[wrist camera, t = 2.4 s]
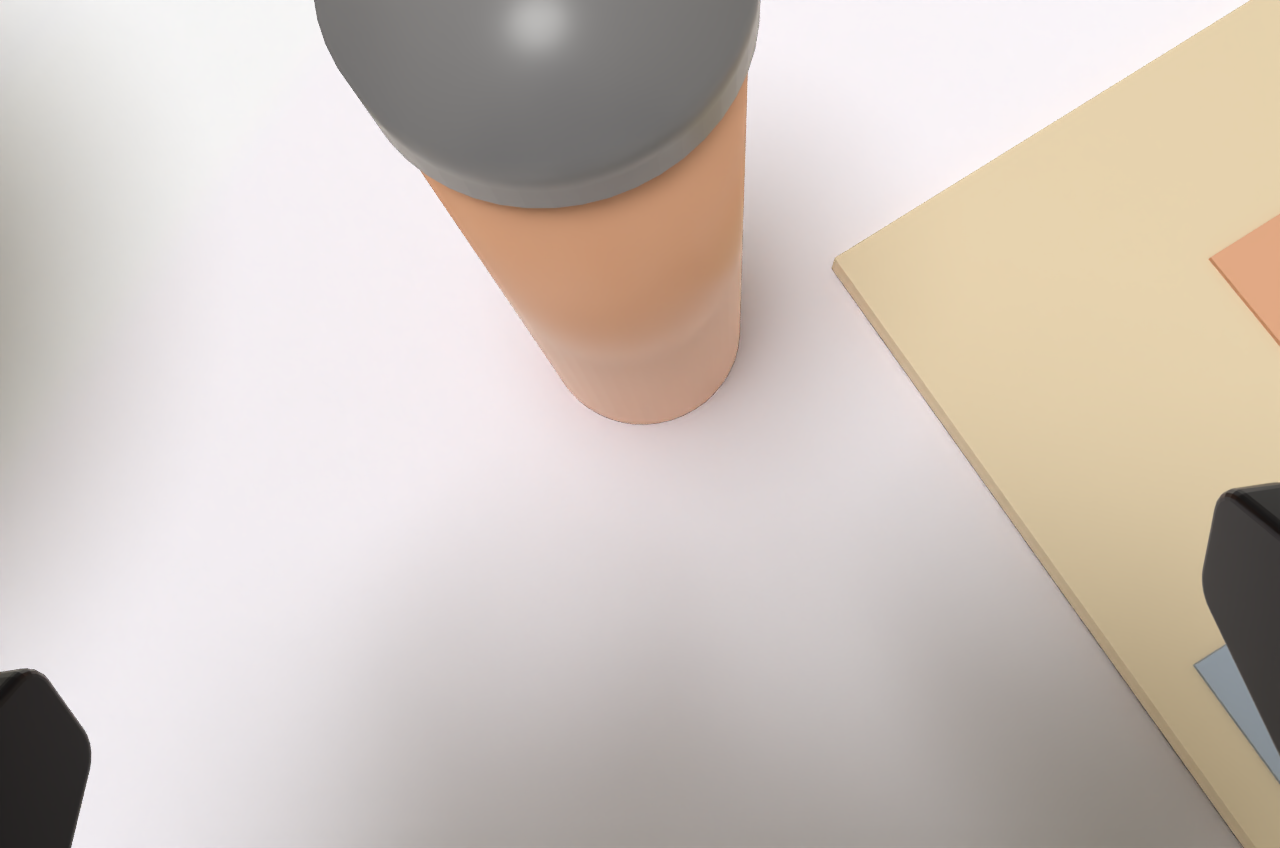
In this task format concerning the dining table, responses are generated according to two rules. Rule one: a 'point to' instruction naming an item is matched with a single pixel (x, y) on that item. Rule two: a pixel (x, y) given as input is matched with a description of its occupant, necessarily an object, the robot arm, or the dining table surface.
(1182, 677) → the beige flat board
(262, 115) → the dining table surface
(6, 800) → the robot arm
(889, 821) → the dining table surface
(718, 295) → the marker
